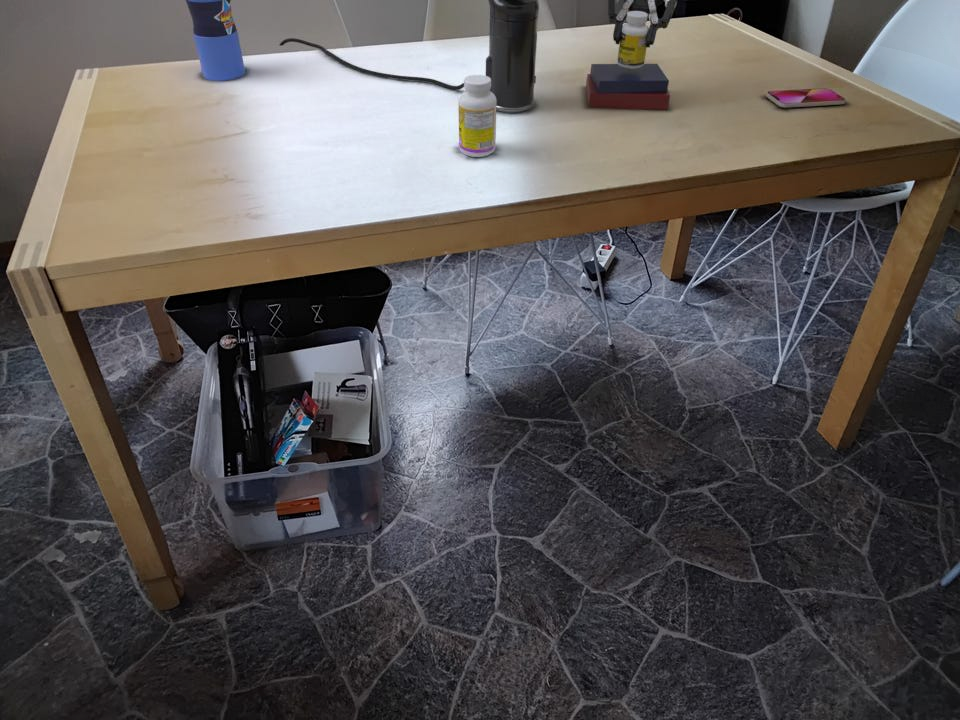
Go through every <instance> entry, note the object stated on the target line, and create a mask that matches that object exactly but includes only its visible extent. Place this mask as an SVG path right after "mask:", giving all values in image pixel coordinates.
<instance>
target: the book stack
mask: <svg viewBox="0 0 960 720" xmlns="http://www.w3.org/2000/svg"><path fill="white" fill-rule="evenodd" d="M669 82H670V80H669V78H668V77H667V75H666V74H665V73H664V70H662V68H661V67H660V66H659V64H658V63H644V65H643V66H642V67H641V68H637V69H628V68H624V67H621V66H619V65H618V63H591V66H590V73H587V74H586V83H585V84H586V85H585V92H586V98H587V105H588V108H593V109H594V108H595V109H596V108H597V109H600V108H601V109H624V110H625V109H627V110H628V109H629V110H654V111H655V110H656V111H657V110H658V111H660V110H661V111H668V109H669V105H670V98H671V93H670V92H669V84H670V83H669Z"/></svg>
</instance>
